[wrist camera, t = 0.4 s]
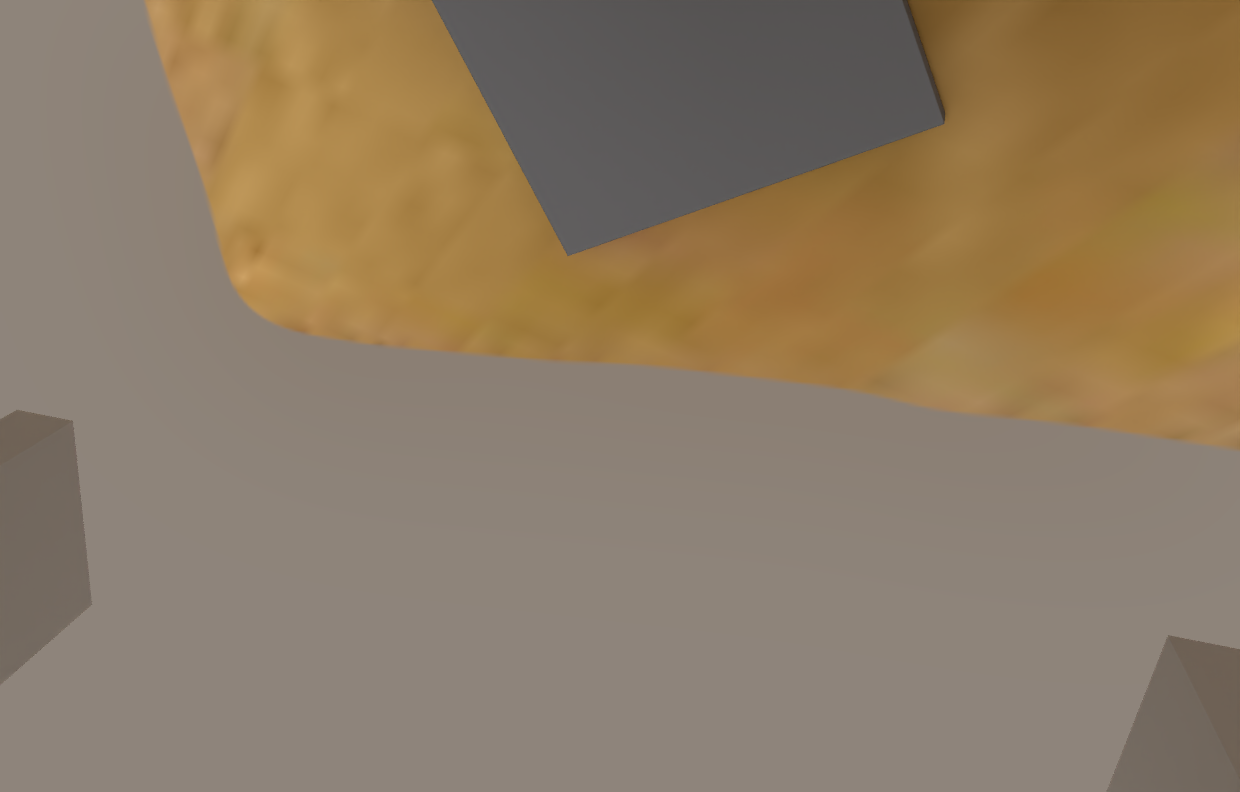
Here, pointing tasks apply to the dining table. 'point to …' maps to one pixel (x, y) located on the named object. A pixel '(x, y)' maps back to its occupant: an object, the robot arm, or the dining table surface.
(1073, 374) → the dining table surface
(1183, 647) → the robot arm
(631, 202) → the slate pad
